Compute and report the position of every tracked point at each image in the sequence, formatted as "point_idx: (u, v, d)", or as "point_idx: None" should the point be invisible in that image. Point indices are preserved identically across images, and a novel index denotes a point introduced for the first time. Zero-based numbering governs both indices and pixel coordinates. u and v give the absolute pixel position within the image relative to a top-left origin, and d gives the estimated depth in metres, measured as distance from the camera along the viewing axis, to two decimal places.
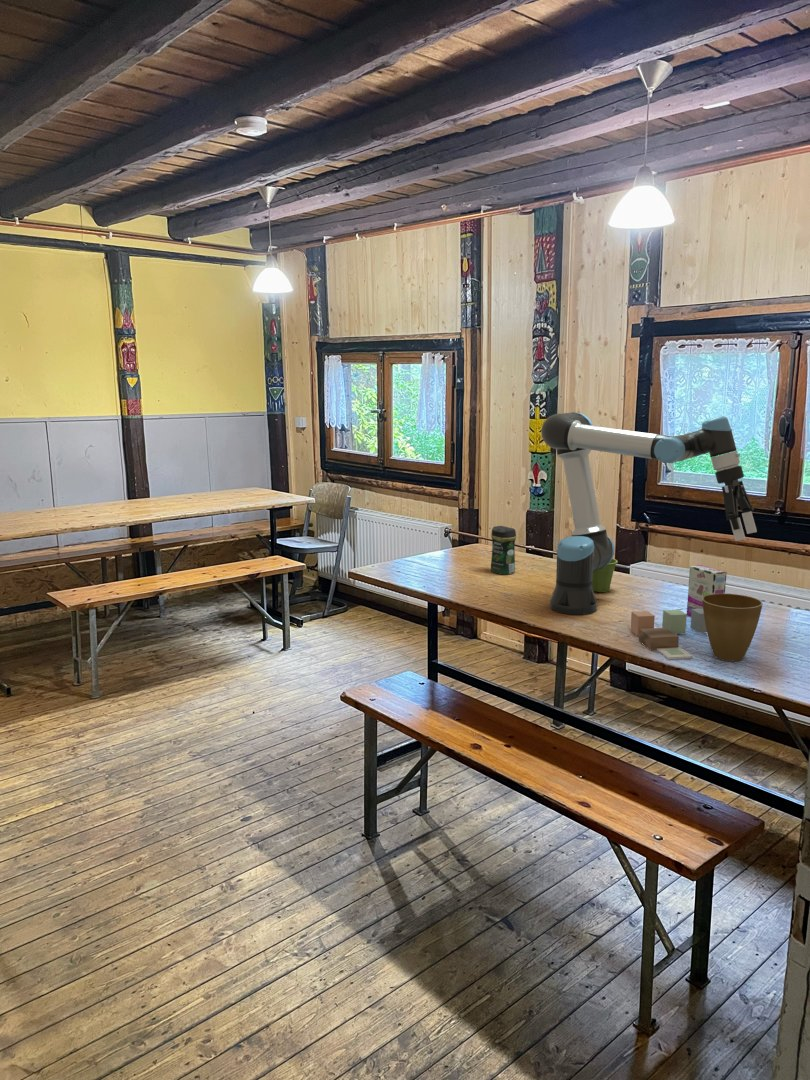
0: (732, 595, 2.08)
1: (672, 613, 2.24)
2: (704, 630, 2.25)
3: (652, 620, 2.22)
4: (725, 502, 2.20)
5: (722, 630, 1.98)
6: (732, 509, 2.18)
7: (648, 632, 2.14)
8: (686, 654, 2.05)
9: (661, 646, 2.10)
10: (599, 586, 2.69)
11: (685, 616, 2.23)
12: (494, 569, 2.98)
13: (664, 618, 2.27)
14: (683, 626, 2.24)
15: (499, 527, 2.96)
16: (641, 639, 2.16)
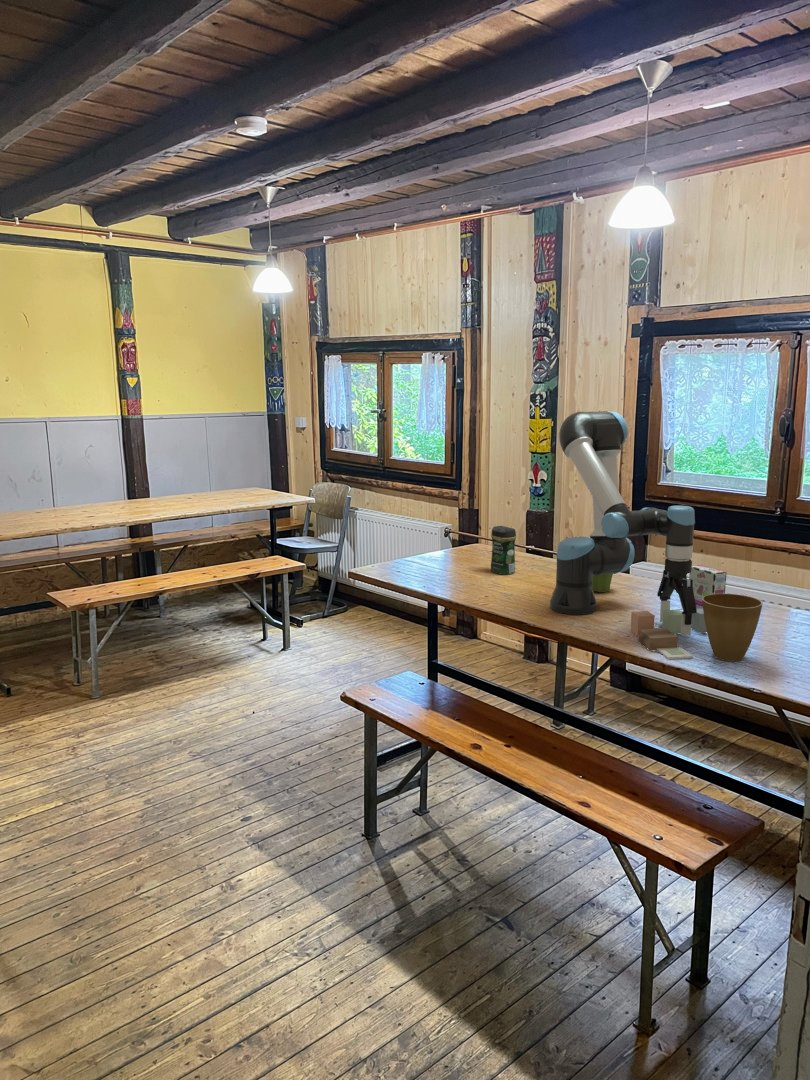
0: (732, 595, 2.08)
1: (672, 613, 2.24)
2: (704, 630, 2.25)
3: (652, 620, 2.22)
4: (687, 596, 2.16)
5: (722, 630, 1.98)
6: (694, 605, 2.15)
7: (648, 633, 2.13)
8: (686, 654, 2.05)
9: (661, 646, 2.10)
10: (599, 586, 2.69)
11: None
12: (494, 569, 2.98)
13: (664, 618, 2.27)
14: None
15: (499, 527, 2.96)
16: (640, 640, 2.16)
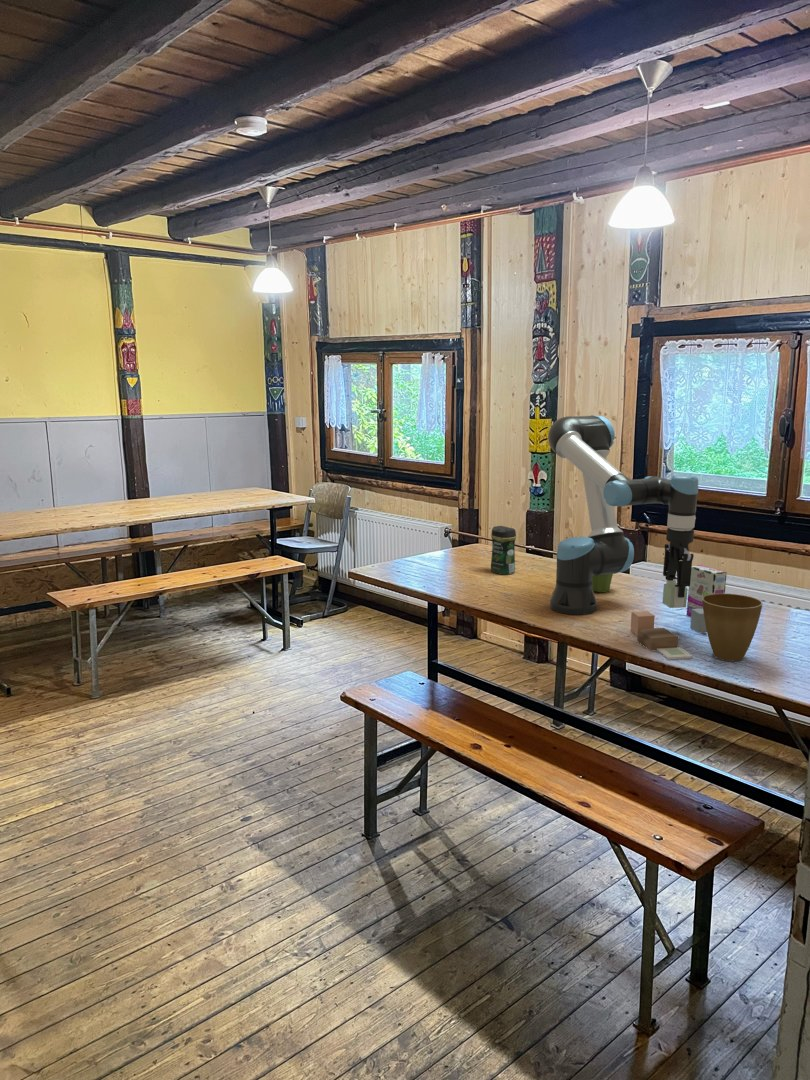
0: (732, 595, 2.08)
1: (673, 587, 2.23)
2: (704, 630, 2.25)
3: (652, 620, 2.22)
4: (684, 571, 2.17)
5: (722, 630, 1.98)
6: (689, 579, 2.17)
7: (647, 633, 2.13)
8: (686, 654, 2.05)
9: (661, 646, 2.10)
10: (599, 586, 2.69)
11: (686, 590, 2.22)
12: (494, 569, 2.98)
13: (665, 592, 2.26)
14: (684, 600, 2.23)
15: (499, 527, 2.96)
16: (640, 640, 2.16)
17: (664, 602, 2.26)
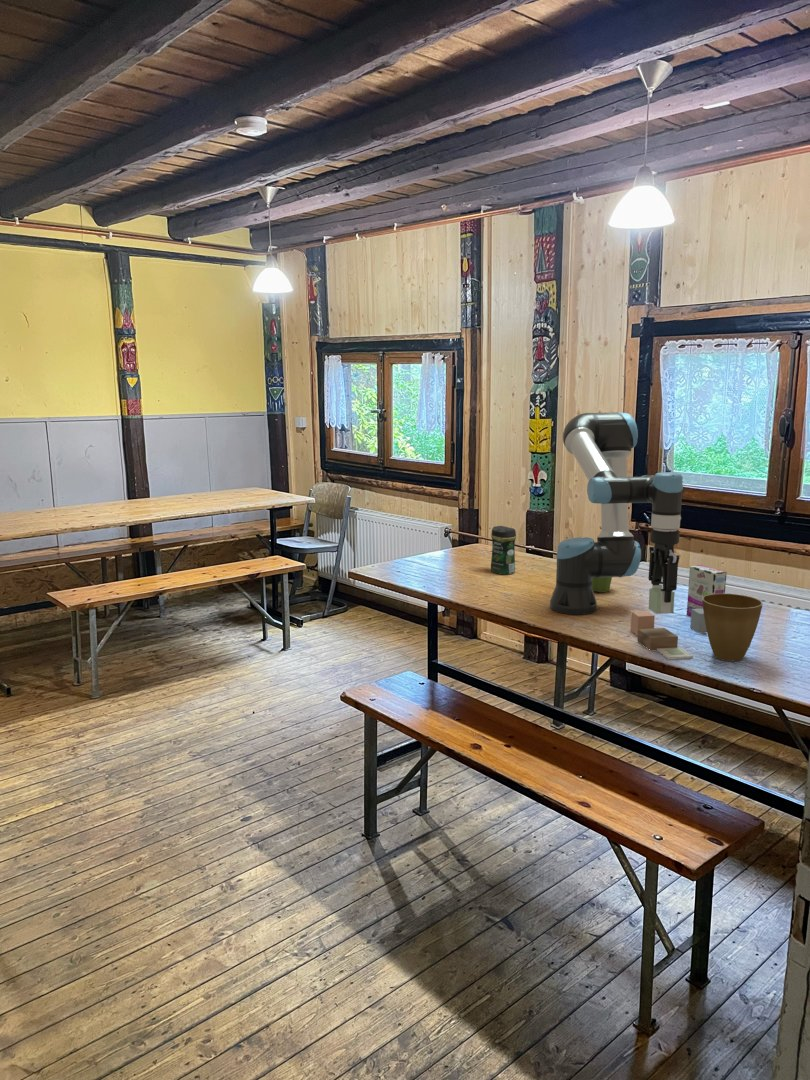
0: (732, 595, 2.08)
1: (659, 591, 2.10)
2: (704, 630, 2.25)
3: (652, 620, 2.22)
4: (670, 573, 2.04)
5: (722, 630, 1.98)
6: (675, 583, 2.05)
7: (647, 633, 2.14)
8: (686, 654, 2.05)
9: (661, 646, 2.10)
10: (599, 586, 2.69)
11: (673, 594, 2.09)
12: (494, 569, 2.98)
13: (650, 597, 2.13)
14: (671, 605, 2.10)
15: (499, 527, 2.96)
16: (640, 639, 2.16)
17: (650, 608, 2.13)
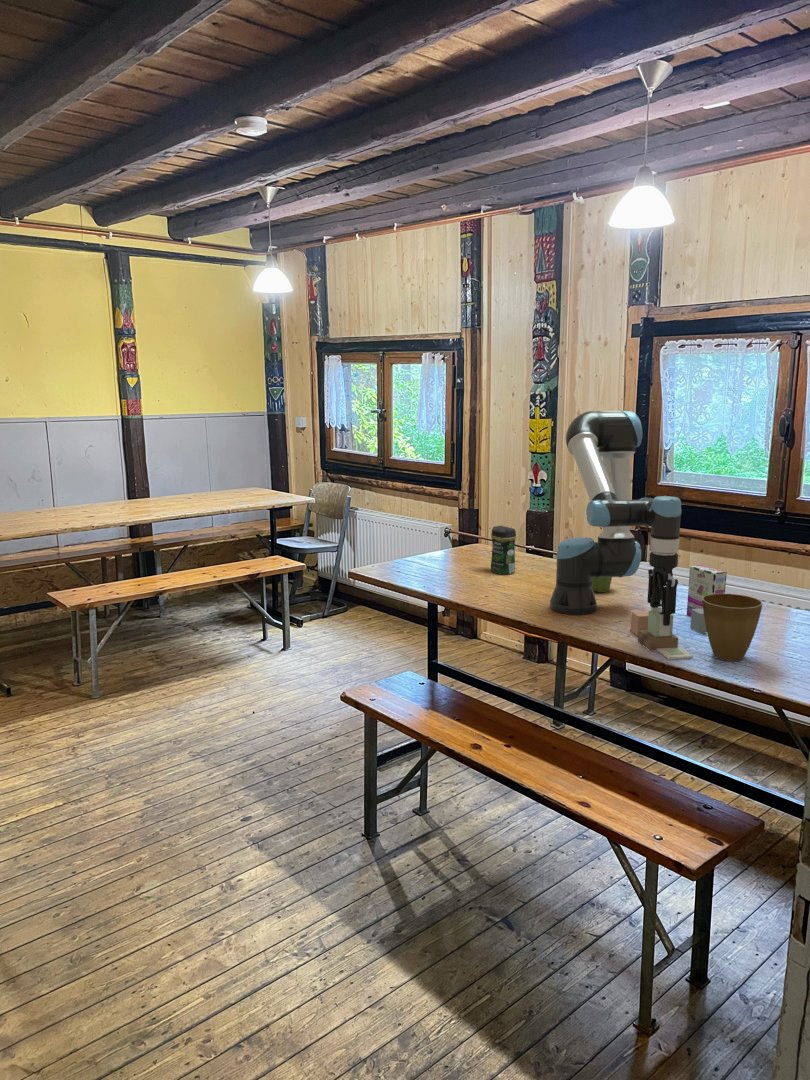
0: (732, 595, 2.08)
1: (658, 614, 2.11)
2: (704, 630, 2.25)
3: None
4: (668, 597, 2.05)
5: (722, 630, 1.98)
6: (674, 606, 2.06)
7: (648, 633, 2.13)
8: (686, 654, 2.05)
9: (661, 647, 2.10)
10: (599, 586, 2.69)
11: (671, 617, 2.11)
12: (494, 569, 2.98)
13: (649, 619, 2.14)
14: None
15: (499, 527, 2.96)
16: (640, 640, 2.16)
17: (649, 630, 2.15)
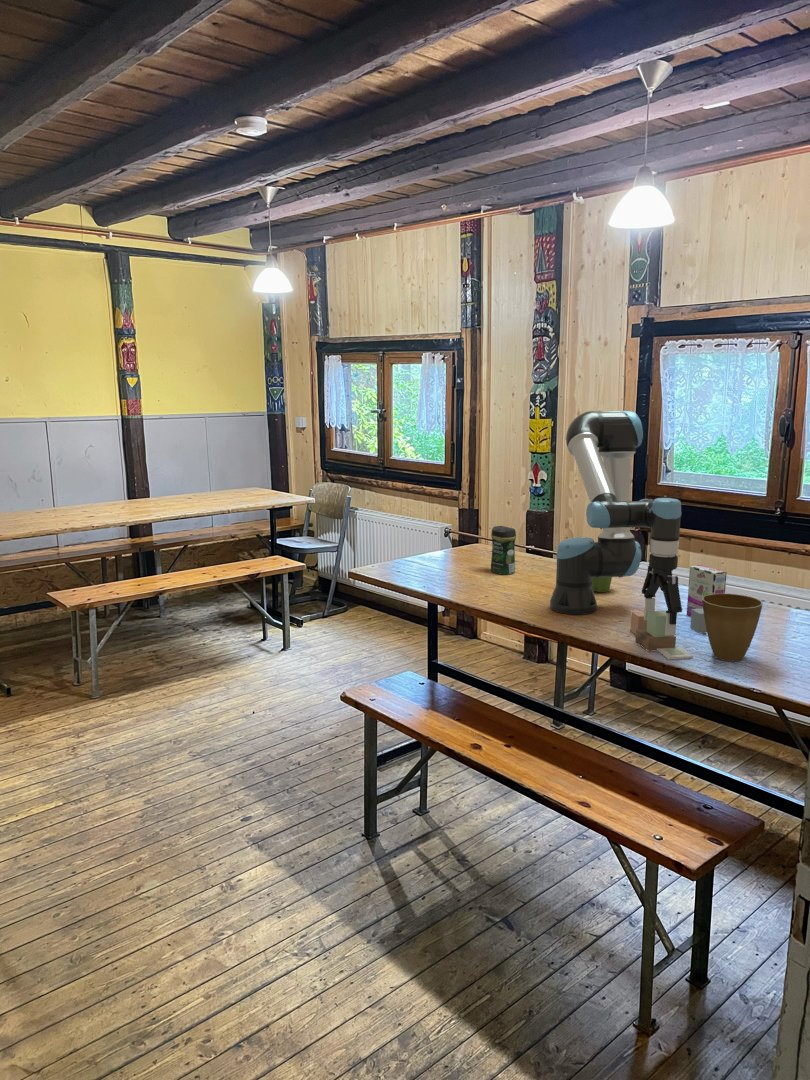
0: (732, 595, 2.08)
1: (657, 615, 2.10)
2: (704, 630, 2.25)
3: None
4: (672, 594, 2.03)
5: (722, 630, 1.98)
6: (679, 604, 2.03)
7: (645, 633, 2.13)
8: (686, 654, 2.05)
9: (658, 647, 2.10)
10: (599, 586, 2.69)
11: None
12: (494, 569, 2.98)
13: (649, 620, 2.13)
14: None
15: (499, 527, 2.96)
16: (638, 640, 2.16)
17: (648, 631, 2.13)
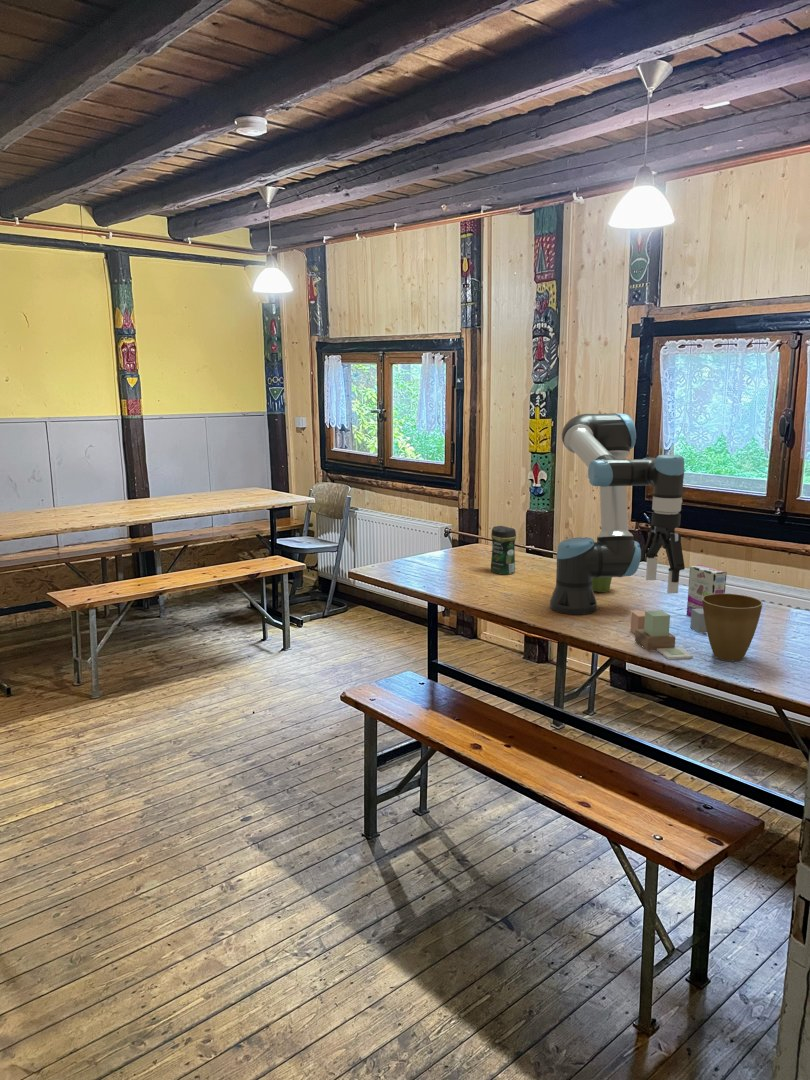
0: (732, 595, 2.08)
1: (655, 614, 2.11)
2: (704, 630, 2.25)
3: None
4: (674, 552, 2.01)
5: (722, 630, 1.98)
6: (682, 561, 2.01)
7: (645, 633, 2.14)
8: (686, 654, 2.05)
9: (658, 646, 2.10)
10: (599, 586, 2.69)
11: (668, 617, 2.10)
12: (494, 569, 2.98)
13: (646, 619, 2.13)
14: (666, 628, 2.11)
15: (499, 527, 2.96)
16: (637, 640, 2.16)
17: (646, 630, 2.14)
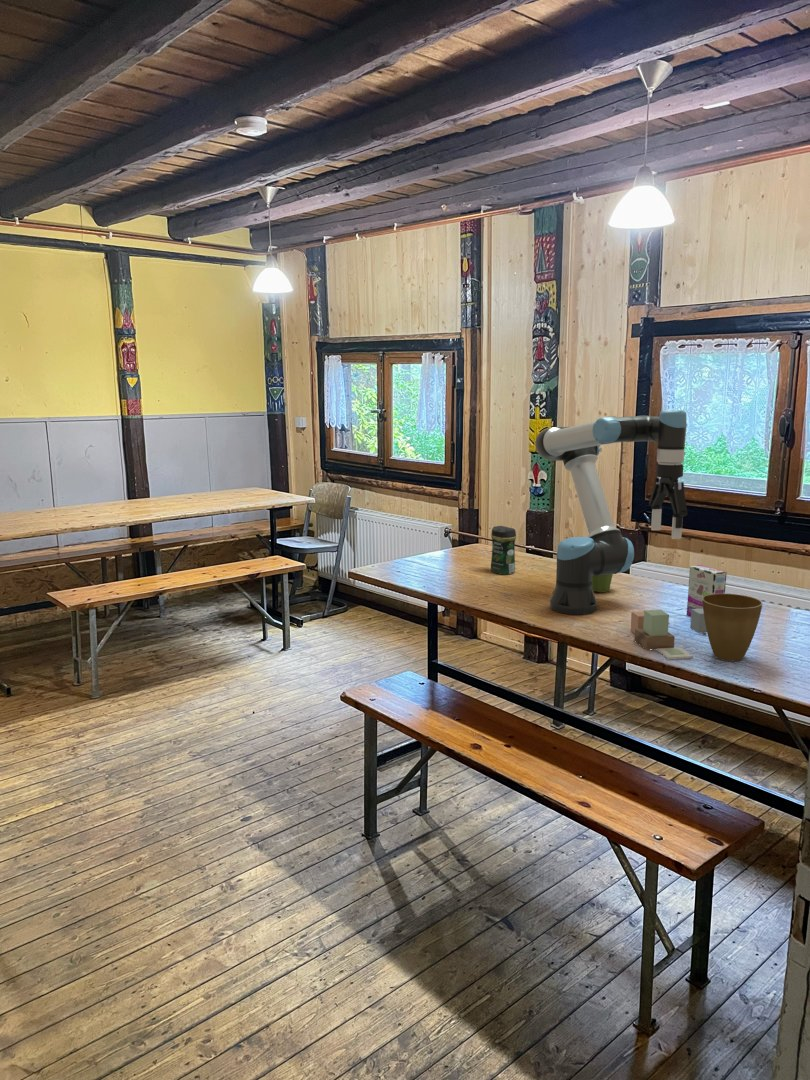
0: (732, 595, 2.08)
1: (654, 614, 2.11)
2: (704, 630, 2.25)
3: None
4: (678, 499, 2.15)
5: (722, 630, 1.98)
6: (685, 508, 2.15)
7: (644, 632, 2.14)
8: (686, 654, 2.05)
9: (657, 646, 2.11)
10: (599, 586, 2.69)
11: (667, 617, 2.10)
12: (494, 569, 2.98)
13: (645, 619, 2.14)
14: (665, 627, 2.11)
15: (499, 527, 2.96)
16: (637, 639, 2.16)
17: (645, 630, 2.14)
